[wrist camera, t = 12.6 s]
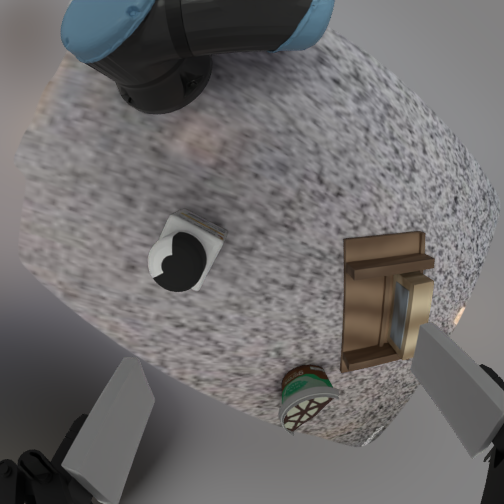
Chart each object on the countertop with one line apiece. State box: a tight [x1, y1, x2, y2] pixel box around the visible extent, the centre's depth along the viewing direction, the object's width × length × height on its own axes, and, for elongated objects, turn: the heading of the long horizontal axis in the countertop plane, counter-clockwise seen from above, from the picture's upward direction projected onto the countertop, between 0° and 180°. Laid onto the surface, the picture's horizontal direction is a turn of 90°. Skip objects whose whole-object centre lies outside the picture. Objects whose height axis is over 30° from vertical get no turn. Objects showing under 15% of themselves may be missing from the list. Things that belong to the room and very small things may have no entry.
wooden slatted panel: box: [340, 231, 435, 373], centre depth 43 cm, size 26×15×5 cm, turn 6°
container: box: [148, 209, 228, 292], centre depth 36 cm, size 8×8×13 cm
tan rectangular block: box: [387, 271, 434, 360], centre depth 41 cm, size 14×4×7 cm, turn 6°
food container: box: [278, 365, 339, 435], centre depth 44 cm, size 12×6×10 cm, turn 144°
